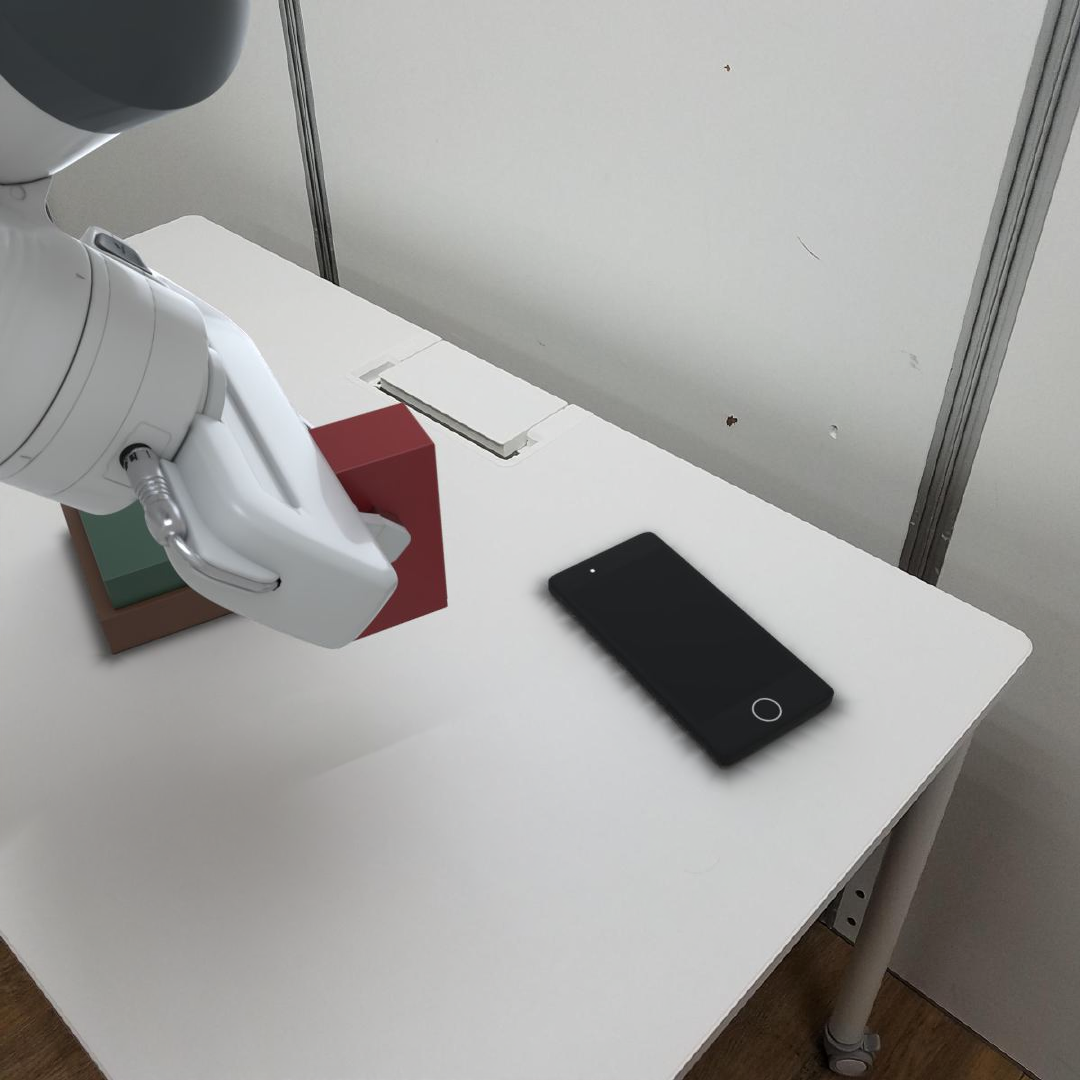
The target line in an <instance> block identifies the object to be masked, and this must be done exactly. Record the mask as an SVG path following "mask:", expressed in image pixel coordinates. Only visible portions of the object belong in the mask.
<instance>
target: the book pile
mask: <svg viewBox="0 0 1080 1080" xmlns="http://www.w3.org/2000/svg"><path fill="white" fill-rule="evenodd" d="M59 504H60V507H61V510H62V514H63V516H64V520H65V523H66V525H67V529H68V531H69V534H70V537H71V541H72V543H73V546H74V548H75V552H76V556H77V558H78V561H79V564H80V567H81V570H82V573H83V576H84V579H85V581H86V585H87V588H88V591H89V594H90V597H91V599H92V603H93V605H94V608H95V612H96V615H97V618H98V620H99V623H100V626H101V628H102V631H103V634H104V636H105V638H106V641H107V643H108V646H109V649H110V651H111V654H112V655H114V654H117V653H120V652H124V651H125V650H128V649H131V648H134V647H136V646H140V645H142V644H145V643H149V642H151V641H154V640H157V639H159V638H163V637H165V636H168V635H171V634H174V633H177V632H180V631H183V630H185V629H188V628H191V627H194V626H197V625H199V624H202V623H205V622H208V621H211V620H214V619H216V618H220V617H223V616H225V615H228V614H231V613H233V612H232V611H230V610H228V609H226V608H224V607H222V606H220V605H218V604H216V603H214V602H213V601H211V600H209V599H207V598H206V597H204V596H203V595H201V594H199V593H198V592H197V591H195V590H194V589H193V588H191V587H190V586H189V585H188V584H187V583H186V582H185V581H184V580H183V579H182V578H181V577H180V576H179V575H178V573H177V572H176V570H175V569H174V567H173V566H172V564H171V562H170V560H169V558H168V556H167V553H166V551H165V548H164V546H162V545H160V544H159V543H158V542H157V541H156V540H155V539H154V537H153V536H152V534H151V533H150V531H149V529H148V526H147V524H146V520H145V510H144V508H143V506H142V504H141V502H140V501H139V499H137V500H136V501H135V502H133V503H132V504H130V505H129V506H127V507H126V508H124V509H122V510H120V511H118V512H115V513H112V514H107V515H95V514H91V513H88V512H85V511H82V510H79V509H76V508H73V507H70V506H68V505H65V504H62V503H59Z"/></svg>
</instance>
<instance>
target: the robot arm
mask: <svg viewBox="0 0 1080 1080" xmlns="http://www.w3.org/2000/svg"><path fill="white" fill-rule="evenodd" d="M251 4H252V0H0V483H3V484H5V485H8V486H11V487H14V488H17V489H20V490H22V491H25V492H28V493H32V494H34V495H37V496H39V497H42V498H44V499H47V500H51V501H54V502H56V503H58V504H60V503H62V504H65V505H68V506H70V507H73V508H76V509H79V510H82V511H85V512H88V513H91V514H95V515H107V514H112V513H115V512H118V511H120V510H122V509H124V508H126V507H127V506H129V505H130V504H132V503H133V502H135V501H136V500H137V499H139V501H140V502H141V504H142V506H143V508H144V510H145V520H146V524H147V526H148V529H149V531H150V533H151V534H152V536H153V537H154V539H155V540H156V541H157V542H158V543H159V544H160V545H162V546H164V548H165V551H166V553H167V556H168V558H169V560H170V562H171V564H172V566H173V567H174V569H175V570H176V572H177V573H178V575H179V576H180V577H181V578H182V579H183V580H184V581H185V582H186V583H187V584H188V585H189V586H190V587H191V588H193V589H194V590H195V591H197V592H198V593H199V594H201V595H203V596H204V597H206V598H207V599H209V600H211V601H213V602H214V603H216V604H218V605H220V606H222V607H224V608H226V609H228V610H230V611H232V612H231V613H235V614H237V615H239V616H241V617H244V618H246V619H249V620H251V621H252V622H256V623H258V624H261V625H263V626H266V627H267V628H270V629H272V630H275V631H277V632H280V633H283V634H285V635H287V636H290V637H293V638H296V639H298V640H301V641H303V642H306V643H308V644H312V645H314V646H317V647H321V648H324V649H328V650H339V649H341V648H344V647H345V646H348V645H350V644H351V643H353V642H355V641H354V640H355V639H356V638H357V637H358V636H359V635H360V634H361V633H362V632H363V631H364V630H365V629H366V627H367V626H368V625H369V624H370V623H371V622H372V620H373V619H374V618H375V617H376V616H377V614H378V613H379V612H380V610H381V609H382V608H383V606H384V605H385V604H386V602H387V601H388V600H389V598H390V597H391V595H392V594H393V593H394V591H395V589H396V587H397V584H398V578H397V574H396V572H395V570H394V568H393V567H392V565H391V563H392V562H394V561H396V559H397V558H398V557H399V556H400V555H401V553H402V552H403V551H404V550H405V548H406V547H407V546H408V545H409V543H410V541H411V535H410V534H409V533H408V531H407V530H406V528H405V526H404V525H403V524H402V522H401V521H400V519H399V518H398V516H396V515H394V514H392V513H389V512H387V511H386V510H383V509H381V508H379V507H377V506H374V505H373V506H372V508H371V509H370V510H369V512H368V513H361V512H358V509H357V507H356V506H355V505H354V504H353V502H352V501H351V499H350V498H349V496H348V494H347V493H346V491H345V490H344V488H343V486H342V485H341V483H340V481H339V480H338V478H337V477H336V475H335V473H334V472H333V470H332V469H331V467H330V465H329V464H328V462H327V460H326V459H325V457H324V456H323V454H322V452H321V451H320V449H319V448H318V446H317V444H316V443H315V441H314V439H313V438H312V436H311V435H310V433H309V431H308V430H309V429H312V428H316V427H315V426H314V425H313V424H312V423H310V422H309V421H308V420H307V419H306V418H304V417H303V416H302V415H300V413H298V412H297V410H296V409H295V407H294V406H293V404H292V402H291V401H290V398H289V397H288V396H287V395H286V392H285V391H284V390H283V388H282V386H281V384H280V383H279V382H278V379H277V378H276V377H275V375H274V373H273V372H272V370H271V368H270V367H269V365H268V363H267V362H266V360H265V359H264V357H263V356H262V354H261V352H260V351H259V349H258V347H257V346H256V344H255V342H254V341H253V339H252V338H251V337H250V336H249V335H248V334H247V333H246V332H245V331H244V330H243V329H242V328H241V327H240V326H238V325H237V324H236V323H235V322H234V321H233V320H232V319H230V318H229V317H228V316H227V315H226V314H224V313H222V312H221V311H219V310H218V309H216V308H215V307H213V306H212V305H210V304H209V303H207V302H205V301H204V300H202V299H200V298H199V297H198V296H197V295H195V294H193V293H191V292H190V291H188V290H187V289H185V288H183V287H182V286H180V285H179V284H177V283H175V282H174V281H172V280H171V279H170V278H168V277H166V276H164V275H162V274H161V273H159V272H157V271H155V270H153V269H152V268H149V267H148V266H147V265H146V263H145V262H144V261H143V259H142V258H141V256H140V255H139V252H138V251H137V250H136V249H135V247H134V246H132V245H131V244H130V243H129V242H128V241H126V240H124V239H122V238H120V237H119V236H117V235H115V234H114V233H111V232H110V231H108V230H107V229H104V228H101V227H98V226H95V225H92V226H89V227H88V228H87V230H86V231H85V232H84V233H83V235H82V236H81V237H80V239H77V238H75V237H73V236H71V235H70V234H68V233H66V232H64V231H63V230H61V229H59V228H58V226H56V225H55V224H54V223H53V221H51V219H50V217H49V215H48V212H47V209H46V207H47V206H46V201H47V198H48V194H49V192H50V189H51V185H52V182H53V179H54V178H53V176H54V174H56V173H58V172H60V171H63V170H64V169H65V168H67V167H69V166H70V165H72V164H73V163H75V162H77V161H78V160H80V159H82V158H84V157H85V156H86V155H88V154H89V153H91V152H94V151H95V150H96V149H97V148H100V147H101V146H102V145H104V144H106V143H108V142H110V141H111V140H113V139H114V138H115V137H117V136H119V135H120V134H122V133H123V134H124V133H128V132H132V131H134V130H136V129H139V128H141V127H144V126H146V125H149V124H151V123H154V122H156V121H158V120H160V119H163V118H165V117H168V116H170V115H173V114H175V113H178V112H180V111H182V110H185V109H187V108H190V107H192V106H194V105H197V104H199V103H201V102H203V101H205V100H207V99H208V98H210V97H211V96H213V95H214V94H215V93H216V92H218V91H219V90H220V89H221V88H222V87H223V86H224V85H225V84H226V82H227V81H228V80H229V78H230V77H231V75H232V74H233V72H234V71H235V69H236V67H237V65H238V63H239V61H240V58H241V56H242V53H243V51H244V47H245V43H246V40H247V35H248V29H249V24H250V23H249V22H250V15H251V7H252V6H251ZM352 641H353V642H352Z"/></svg>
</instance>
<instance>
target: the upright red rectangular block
mask: <svg viewBox="0 0 1080 1080" xmlns="http://www.w3.org/2000/svg"><path fill="white" fill-rule="evenodd" d="M308 431H309V433H310V435H311V436H312V438H313V439H314V441H315V443H316V444H317V446H318V448H319V449H320V451H321V452H322V454H323V456H324V457H325V459H326V460H327V462H328V464H329V465H330V467H331V469H332V470H333V472H334V473H335V475H336V477H337V478H338V480H339V481H340V483H341V485H342V486H343V488H344V490H345V491H346V493H347V494H348V496H349V498H350V499H351V501H352V502H353V504H354V505H355V506H356V507H357V509H358V512H361V513H368V512H369V510H370V509H371V508H372V506H373V505H374V506H377V507H379V508H381V509H383V510H386V511H387V512H389V513H392V514H394V515H396V516H398V518H399V519H400V521H401V522H402V524H403V525H404V526H405V528H406V530H407V531H408V533H409V534H410V535H411V541H410V543H409V545H408V546H407V547H406V548H405V550H404V551H403V552H402V553H401V555H400V556H399V557H398V558H397V559H396V561H394V562H392V563H391V565H392V567H393V568H394V570H395V572H396V574H397V578H398V584H397V587H396V589H395V591H394V593H393V594H392V595H391V597H390V598H389V600H388V601H387V602H386V604H385V605H384V606H383V608H382V609H381V610H380V612H379V613H378V614H377V616H376V617H375V618H374V619H373V620H372V622H371V623H370V624H369V625H368V626H367V627H366V629H365V630H364V631H363V632H362V633H361V634H360V635H359V636H358V637H357V638H356V639H355V640H354V641H352V642H351V643H353V642H355V641H358V640H362V639H364V638H367V637H370V636H372V635H375V634H379V633H380V632H383V631H386V630H389V629H391V628H394V627H397V626H401V625H402V624H405V623H408V622H411V621H414V620H416V619H419V618H421V617H424V616H427V615H430V614H433V613H435V612H438V611H441V610H443V609H447V608H448V606H449V603H448V599H449V598H448V586H447V585H448V584H447V573H446V572H447V571H446V562H445V561H446V559H445V547H444V536H443V524H442V512H441V500H440V487H439V475H438V473H439V472H438V462H437V450H436V449H437V448H436V444H435V441H434V440H433V439H432V438H431V437H430V435H429V434H428V433H427V431H426V430H425V429H424V427H423V426H422V425H421V423H420V422H419V420H418V419H417V418H416V416H414V414H413V412H412V411H411V410H410V409H409V407H408V406H407V405H406V403H405V402H403V401H401V402H398V403H395V404H391V405H388V406H384V407H381V408H378V409H374V410H371V411H367V412H364V413H361V414H360V413H359V414H357V415H354V416H350V417H347V418H344V419H339V420H337V421H333V422H330V423H327V424H323V425H320V426H316V427H315V428H312V429H309V430H308Z"/></svg>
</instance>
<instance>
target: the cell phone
mask: <svg viewBox="0 0 1080 1080" xmlns="http://www.w3.org/2000/svg"><path fill="white" fill-rule="evenodd" d="M547 585H548V586H547V589H548V591H549V592H550V593H551V594H552V595H553V596H554V598H556V599H557V600H558V601H559V602H560V603H561V604H562V605H563V606H564V607H565V608H566V609H567V610H568V611H569V613H571V615H572V616H574V617H575V618H576V619H577V621H578V622H580V623H581V624H582V625H583V627H584V628H585V629H586V630H588V632H590V633H591V634H592V635H593V636H594V637H595V638H596V640H597V641H598V642H600V644H601V645H602V646H603V647H605V649H606V650H607V651H608V652H609V653H610V654H611V656H613V657H614V658H615V659H616V660H617V661H618V662H619V663H620V664H621V665H622V666H623V667H624V669H626V670H627V671H628V672H629V673H630V674H631V675H632V676H633V677H634V678H635V679H636V680H637V681H638V682H639V683H640V684H641V686H643V687H644V689H646V691H648V693H650V694H651V696H652V697H654V698H655V699H656V700H657V701H658V702H659V703H660V705H662V706H663V708H665V709H666V711H667V712H669V714H670V715H671V716H672V717H673V718H674V719H675V720H676V721H677V722H678V723H679V724H680V725H681V726H682V727H683V728H684V729H685V730H686V731H687V732H688V733H689V734H690V735H691V736H692V737H693V738H694V739H695V740H696V741H697V743H699V744H700V745H701V746H702V747H703V748H704V749H705V750H706V751H707V753H708V754H710V756H711V757H713V759H714V761H716V762H717V763H718V764H719V765H721V766H722V767H727V766H731V765H733V764H735V763H737V762H739V761H741V760H742V759H743V758H745V757H747V756H748V755H750V754H751V753H753V752H755V751H756V750H759V749H760V748H762V747H763V746H765V745H767V744H768V743H769V742H772V741H773V740H775V739H776V738H778V737H780V736H781V735H783V734H784V733H786V732H788V731H789V730H791V729H793V728H794V727H796V726H797V725H799V724H801V723H802V722H804V721H806V720H808V719H809V718H811V717H812V716H814V715H816V714H818V713H819V712H821V711H823V710H824V709H826V708H827V707H828V706H830V704H831V703H832V702H833V699H834V695H835V689H834V688H833V687H832V686H831V685H830V684H828V682H827V681H826V680H824V679H823V678H822V677H821V676H819V674H817V673H816V672H815V671H814V670H813V669H811V668H810V667H809V666H808V664H805V662H803V661H802V660H801V659H800V658H799V657H798V656H796V655H795V654H794V653H793V652H792V651H791V650H789V648H788V647H786V646H785V645H784V644H783V643H782V642H780V641H779V640H778V639H777V638H776V637H775V636H774V635H772V634H771V633H770V632H769V631H767V630H766V628H765V627H763V626H762V625H761V624H759V622H757V621H756V620H755V619H754V618H753V617H752V616H751V615H750V614H748V613H747V612H746V611H745V610H744V609H742V608H741V607H740V606H739V605H738V604H737V603H736V602H734V601H733V600H732V599H731V598H730V597H729V596H727V594H726V593H724V592H723V591H722V590H721V589H719V588H718V587H717V586H716V585H715V584H714V583H713V582H711V581H710V580H709V579H708V578H707V577H706V576H704V575H703V574H702V573H701V572H700V571H699V570H697V569H696V568H695V567H694V566H693V565H692V564H691V563H690V562H689V561H687V560H686V559H685V558H684V557H683V556H681V554H679V553H678V552H677V551H676V550H675V549H674V548H672V547H671V546H670V545H669V544H667V543H666V542H665V541H664V540H663V539H662V538H661V537H659V535H657V534H656V533H654V532H652V531H644V532H641V533H639V534H636V535H635V536H633V537H631V538H628V539H626V540H624V541H622V542H620V543H618V544H616V545H614V546H612V547H609V548H607V549H605V550H602V551H601V552H599V553H597V554H595V555H592V556H591V557H589V558H586V559H584V560H582V561H580V562H577V563H575V564H574V565H571V566H569V567H567V568H564V569H563V570H561V571H559V572H557V573H555V574H553V575H551V576H550V577H549V578H548V581H547Z"/></svg>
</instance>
